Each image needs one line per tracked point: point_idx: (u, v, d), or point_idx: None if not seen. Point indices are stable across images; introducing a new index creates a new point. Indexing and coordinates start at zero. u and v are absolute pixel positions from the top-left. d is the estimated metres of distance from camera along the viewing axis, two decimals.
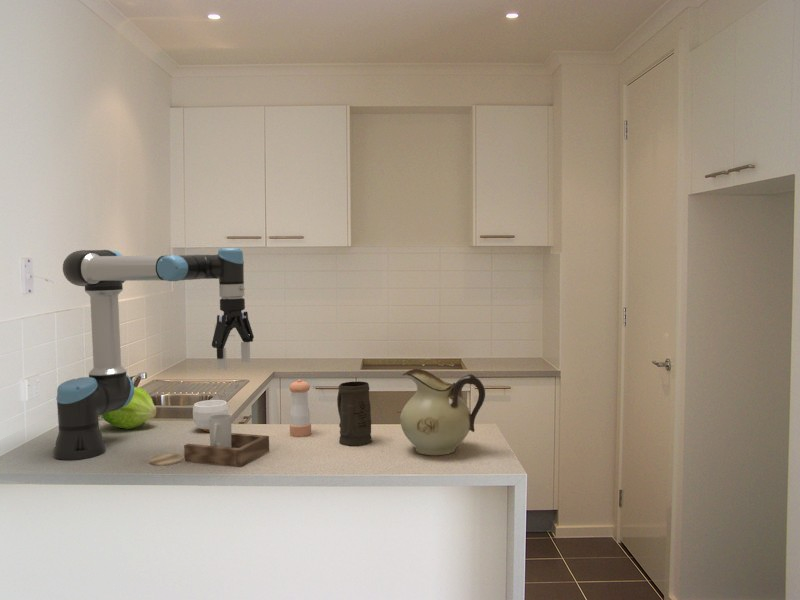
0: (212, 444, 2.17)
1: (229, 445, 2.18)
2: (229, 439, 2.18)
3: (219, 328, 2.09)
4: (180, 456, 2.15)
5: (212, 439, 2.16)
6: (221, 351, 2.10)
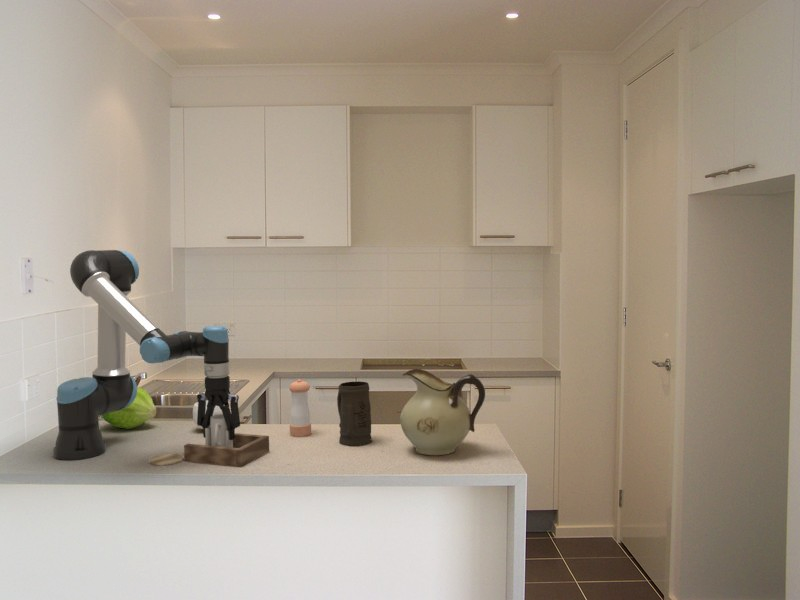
0: (213, 444, 2.16)
1: None
2: None
3: None
4: (180, 456, 2.15)
5: (213, 439, 2.16)
6: (204, 430, 2.18)
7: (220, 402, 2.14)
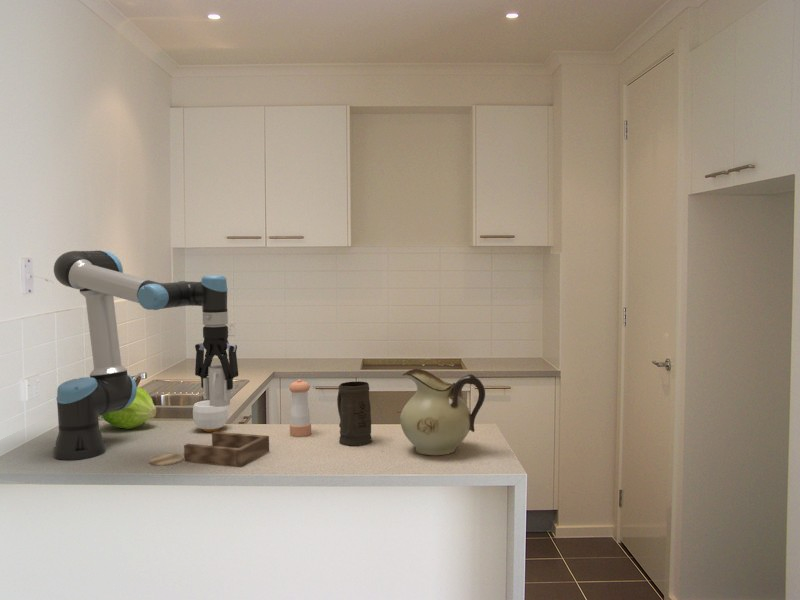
0: (211, 394, 2.15)
1: None
2: None
3: None
4: (180, 456, 2.15)
5: (211, 389, 2.15)
6: (202, 380, 2.17)
7: (218, 351, 2.13)
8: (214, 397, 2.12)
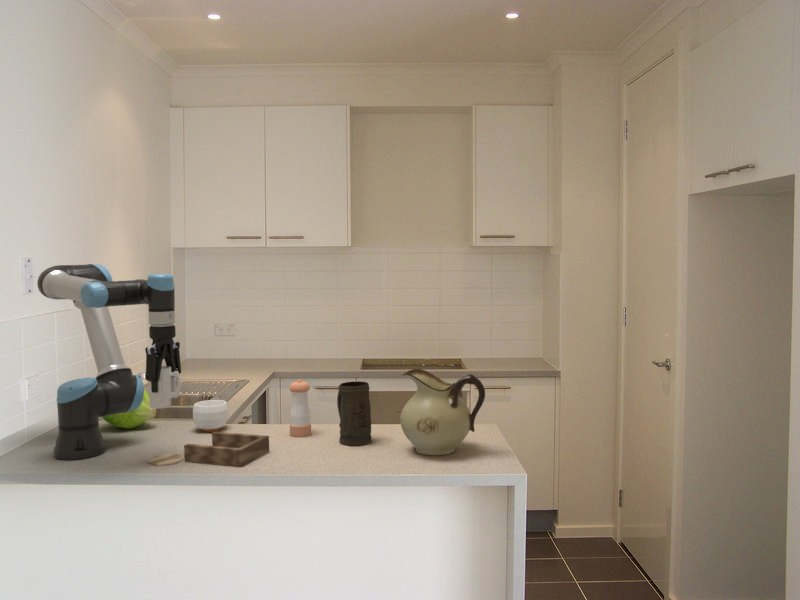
0: (166, 395, 2.11)
1: None
2: None
3: (150, 362, 2.05)
4: (180, 456, 2.15)
5: (166, 390, 2.11)
6: (156, 385, 2.07)
7: (172, 350, 2.13)
8: (178, 395, 2.12)
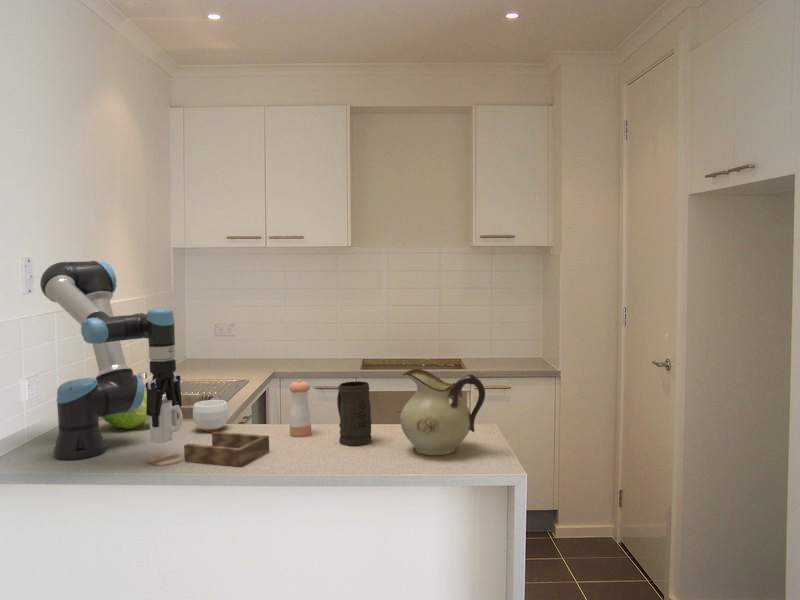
0: (167, 429, 2.11)
1: None
2: None
3: (150, 397, 2.06)
4: (180, 456, 2.15)
5: (167, 424, 2.11)
6: (156, 419, 2.08)
7: (172, 384, 2.13)
8: None
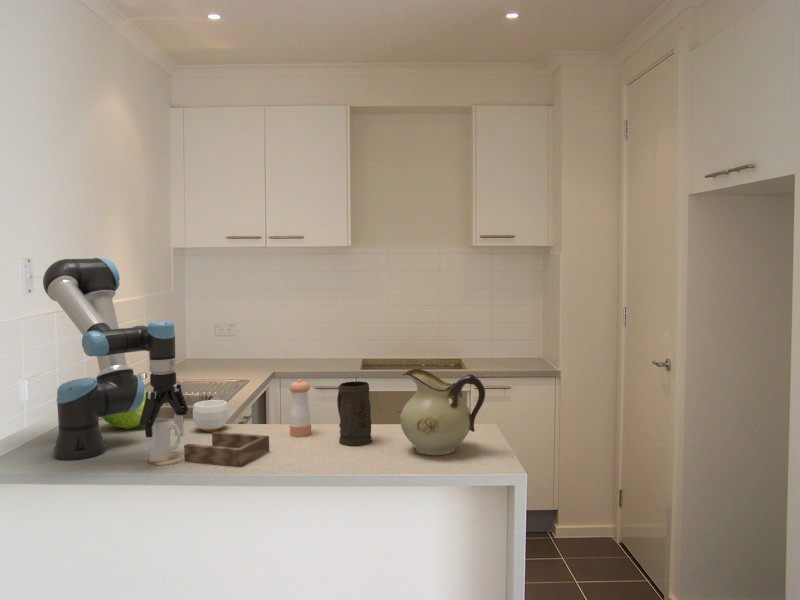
0: (165, 448, 2.11)
1: None
2: None
3: (147, 406, 2.05)
4: (180, 456, 2.15)
5: (165, 443, 2.11)
6: (150, 429, 2.05)
7: (173, 395, 2.14)
8: (177, 447, 2.12)
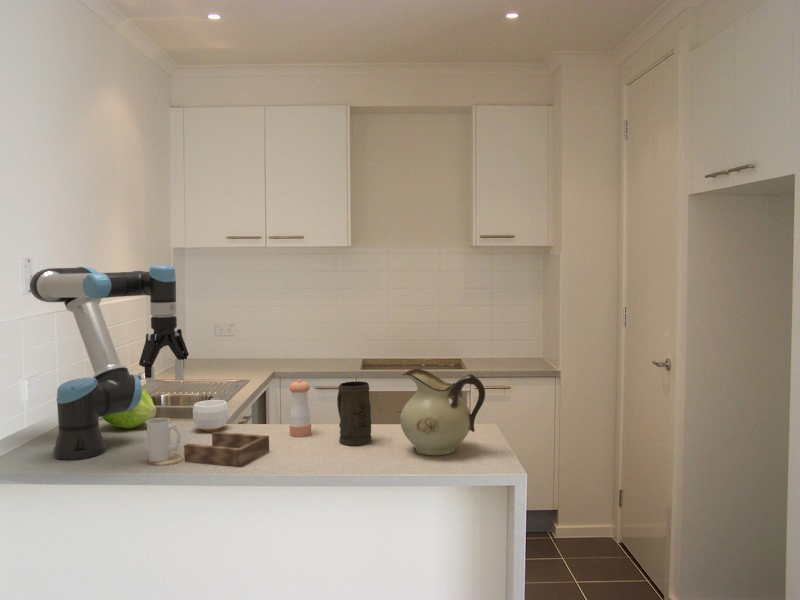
0: (165, 448, 2.11)
1: None
2: None
3: (147, 347, 2.08)
4: (180, 456, 2.15)
5: (165, 443, 2.11)
6: (149, 370, 2.08)
7: (174, 339, 2.17)
8: (177, 447, 2.12)
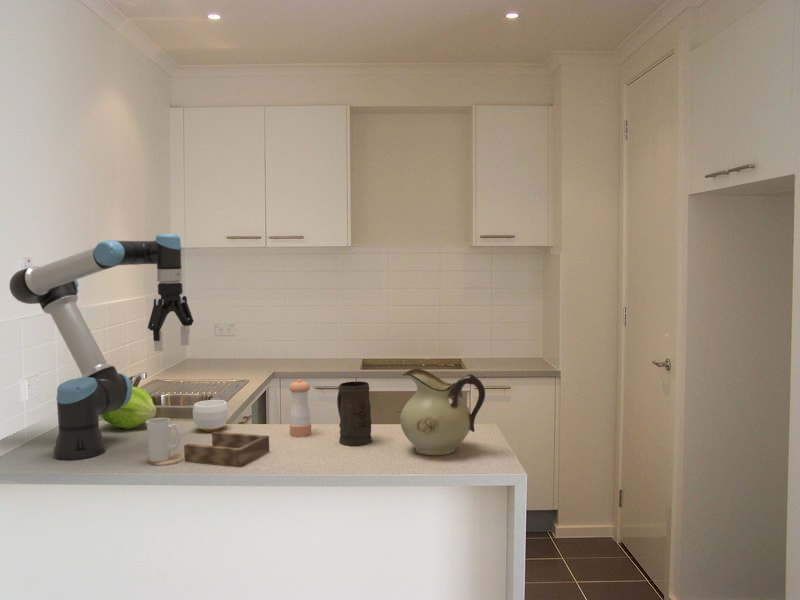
0: (165, 448, 2.11)
1: None
2: None
3: (155, 311, 2.17)
4: (180, 456, 2.15)
5: (165, 443, 2.11)
6: (157, 333, 2.17)
7: (180, 305, 2.26)
8: (177, 447, 2.12)
